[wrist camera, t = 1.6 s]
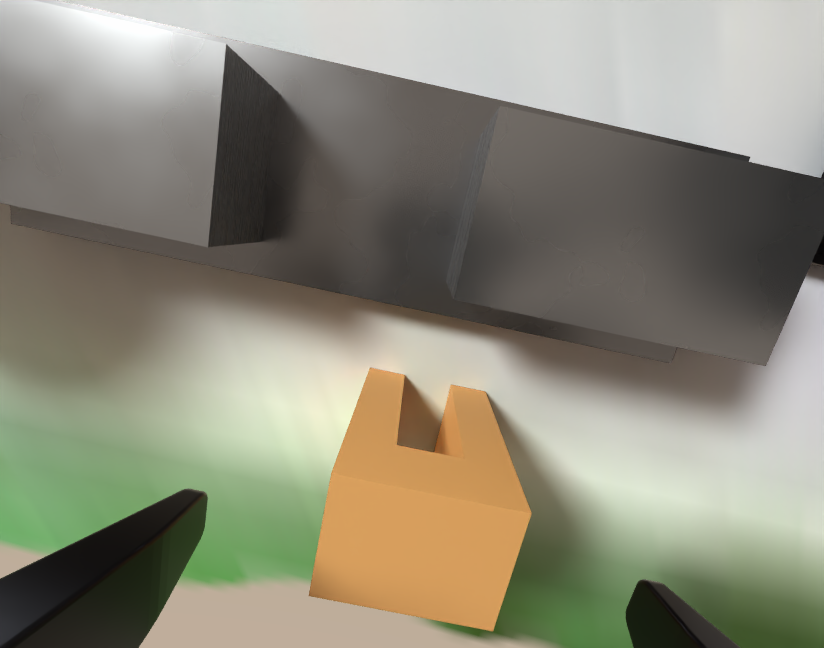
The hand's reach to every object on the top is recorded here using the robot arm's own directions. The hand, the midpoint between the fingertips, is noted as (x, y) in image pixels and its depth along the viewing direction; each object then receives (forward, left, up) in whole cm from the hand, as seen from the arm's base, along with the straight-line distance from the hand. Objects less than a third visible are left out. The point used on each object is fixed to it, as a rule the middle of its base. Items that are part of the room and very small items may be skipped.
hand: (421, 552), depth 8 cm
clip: (0, 0, -6) cm, 6 cm away
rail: (+3, -7, -6) cm, 10 cm away
